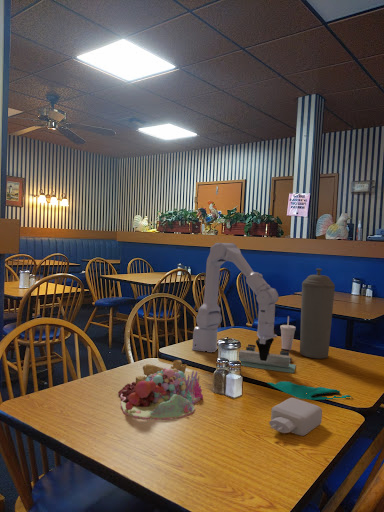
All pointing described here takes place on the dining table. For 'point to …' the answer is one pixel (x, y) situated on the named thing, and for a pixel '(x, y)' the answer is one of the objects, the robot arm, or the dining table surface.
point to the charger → (295, 416)
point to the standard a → (251, 347)
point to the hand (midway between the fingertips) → (263, 359)
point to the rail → (271, 360)
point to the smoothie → (287, 335)
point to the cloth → (305, 391)
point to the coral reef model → (161, 393)
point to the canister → (316, 315)
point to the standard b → (285, 353)
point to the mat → (270, 367)
